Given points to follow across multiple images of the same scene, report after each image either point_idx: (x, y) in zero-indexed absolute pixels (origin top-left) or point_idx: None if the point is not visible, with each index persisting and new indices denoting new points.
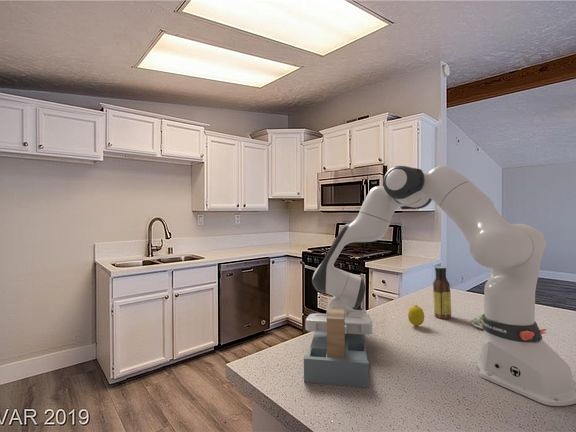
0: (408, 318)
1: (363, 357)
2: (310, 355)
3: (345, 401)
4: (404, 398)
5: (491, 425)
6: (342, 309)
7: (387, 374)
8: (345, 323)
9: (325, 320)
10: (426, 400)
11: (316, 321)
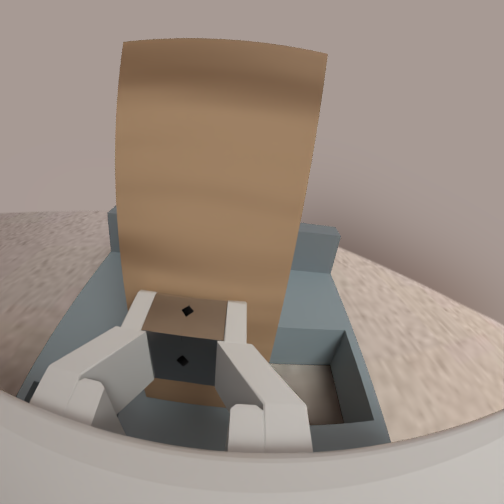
0: None
1: (71, 326)
2: (351, 369)
3: None
4: (65, 247)
5: (7, 214)
6: (146, 40)
7: (29, 321)
8: (31, 406)
9: (413, 462)
10: (32, 243)
11: (494, 414)
